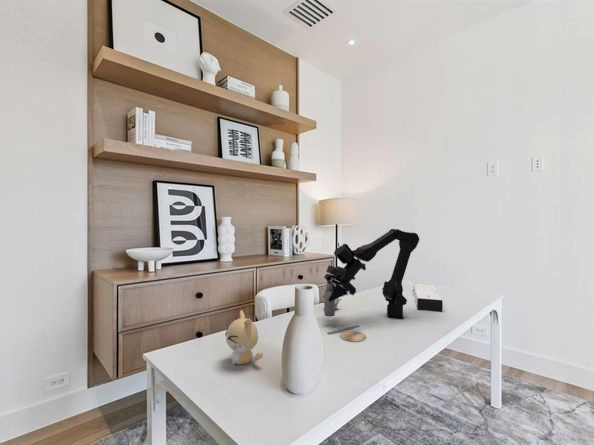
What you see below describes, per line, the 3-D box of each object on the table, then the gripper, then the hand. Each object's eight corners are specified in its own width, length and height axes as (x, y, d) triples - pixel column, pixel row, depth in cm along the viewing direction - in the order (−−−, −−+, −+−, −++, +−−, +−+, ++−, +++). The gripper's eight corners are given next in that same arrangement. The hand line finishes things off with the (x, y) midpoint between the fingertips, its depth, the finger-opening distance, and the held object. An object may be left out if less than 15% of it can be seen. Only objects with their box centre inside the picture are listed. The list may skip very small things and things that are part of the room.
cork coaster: (367, 333, 124) (367, 332, 124) (365, 343, 114) (365, 342, 114) (341, 330, 127) (341, 329, 127) (337, 340, 117) (337, 338, 117)
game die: (334, 317, 154) (340, 304, 148) (318, 310, 155) (323, 297, 149) (338, 304, 161) (344, 291, 155) (323, 297, 162) (328, 284, 156)
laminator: (442, 313, 150) (442, 300, 150) (414, 310, 154) (415, 298, 154) (433, 295, 183) (434, 284, 183) (411, 293, 186) (411, 283, 186)
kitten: (221, 354, 105) (221, 309, 105) (250, 349, 109) (250, 306, 109) (231, 375, 92) (230, 324, 91) (264, 368, 96) (264, 319, 95)
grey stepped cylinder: (335, 313, 134) (335, 282, 133) (333, 316, 129) (333, 285, 129) (325, 312, 135) (325, 282, 134) (323, 315, 131) (323, 284, 130)
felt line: (357, 325, 132) (357, 324, 132) (359, 326, 131) (359, 325, 131) (327, 333, 124) (327, 332, 124) (329, 334, 122) (329, 333, 122)
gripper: (328, 255, 141) (305, 282, 138) (349, 261, 124) (324, 292, 120) (343, 271, 145) (321, 298, 141) (366, 280, 127) (342, 310, 124)
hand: (326, 299), depth 131 cm, fingers closed on grey stepped cylinder, 4 cm apart
